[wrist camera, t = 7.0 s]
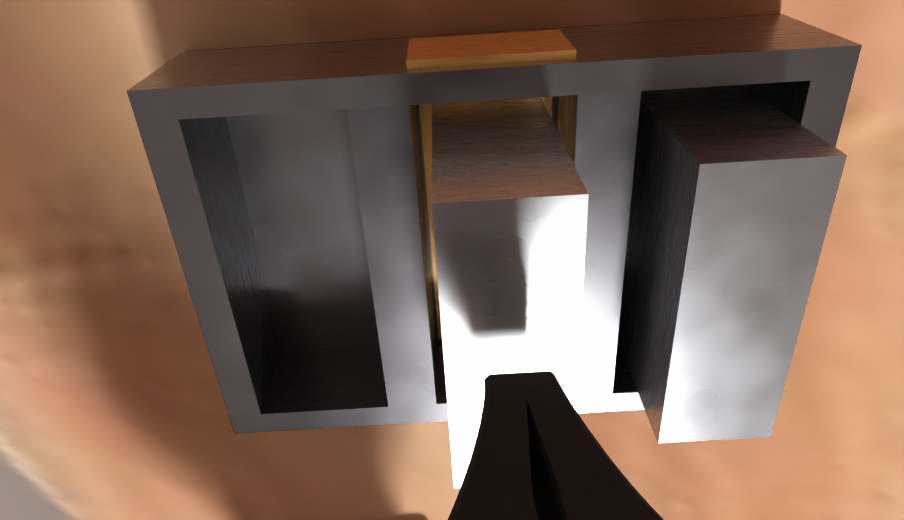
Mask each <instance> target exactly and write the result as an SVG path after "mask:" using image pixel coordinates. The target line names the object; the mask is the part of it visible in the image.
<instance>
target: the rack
mask: <svg viewBox="0 0 904 520" xmlns="http://www.w3.org/2000/svg"><path fill="white" fill-rule="evenodd" d="M861 46H862V45H860V44H858V43H855V42H852V41H850V40H847V39H845V38H842V37H840V36H837V35H834V34H832V33H829V32H827V31H824V30H821V29H819V28H816V27H814V26H811V25H808V24H806V23H803V22H801V21H798V20H796V19H793V18H790V17H788V16H785V15H783V14H773V15H757V16H741V17H725V18H709V19H693V20H677V21H661V22H645V23H629V24H613V25H597V26H581V27H565V28H549V29H533V30H517V31H501V32H485V33H469V34H453V35H437V36H421V37H405V38H389V39H373V40H357V41H342V42H326V43H310V44H294V45H278V46H262V47H246V48H230V49H214V50H198V51H184V52H183V53H181V54H180V55H178V56H177V57H175V58H174V59H172V60H171V61H170V62H168V63H167V64H165V65H164V66H162V67H161V68H159V69H158V70H156V71H155V72H154V73H152V74H151V75H149V76H148V77H146V78H145V79H143V80H142V81H140V82H139V83H137V84H136V85H135V86H133V87H132V88H130V89H129V90H127V93H128V96H129V99H130V103H131V106H132V109H133V112H134V115H135V119H136V122H137V125H138V128H139V131H140V134H141V138H142V141H143V144H144V147H145V150H146V154H147V157H148V160H149V163H150V166H151V169H152V173H153V176H154V179H155V182H156V185H157V189H158V192H159V195H160V198H161V201H162V204H163V208H164V211H165V214H166V217H167V220H168V224H169V227H170V230H171V233H172V236H173V239H174V243H175V246H176V249H177V252H178V255H179V259H180V262H181V265H182V268H183V271H184V274H185V278H186V281H187V284H188V287H189V290H190V294H191V297H192V300H193V303H194V306H195V309H196V313H197V316H198V319H199V322H200V325H201V329H202V332H203V335H204V338H205V341H206V344H207V348H208V351H209V354H210V357H211V360H212V364H213V367H214V370H215V373H216V376H217V379H218V383H219V386H220V389H221V392H222V395H223V399H224V402H225V405H226V408H227V411H228V414H229V418H230V421H231V424H232V427H233V430H234V433H251V432H268V431H285V430H302V429H320V428H337V427H354V426H371V425H388V424H406V423H423V422H440V421H449V419H448V406H447V393H446V381H445V368H444V356H443V343H442V330H441V318H440V305H439V292H438V280H437V267H436V255H435V242H434V229H433V217H432V204H431V199H432V104H438V103H454V102H470V101H487V100H503V99H519V98H535V97H541V98H542V100H543V102H544V104H545V106H546V108H547V110H548V112H549V114H550V117H551V119H552V121H553V123H554V125H555V127H556V129H557V131H558V133H559V135H560V137H561V139H562V141H563V143H564V145H565V147H566V149H567V151H568V153H569V155H570V157H571V159H572V161H573V163H574V165H575V167H576V169H577V171H578V173H579V175H580V178H581V180H582V182H583V184H584V186H585V188H586V190H587V192H588V194H589V196H588V214H587V231H586V248H585V266H584V283H583V301H582V318H581V335H580V353H579V370H578V388H577V405H576V411H577V413H595V412H612V411H630V410H645V411H646V414H647V416H648V419H649V421H650V424H651V427H652V429H653V432H654V434H655V437H656V439H657V442H658V443H672V442H690V441H707V440H724V439H742V438H759V437H770V436H771V433H772V429H773V425H774V421H775V418H776V414H777V410H778V407H779V403H780V399H781V396H782V392H783V388H784V385H785V381H786V377H787V374H788V370H789V366H790V363H791V359H792V355H793V352H794V348H795V344H796V341H797V337H798V333H799V330H800V326H801V322H802V318H803V315H804V311H805V307H806V304H807V300H808V296H809V293H810V289H811V285H812V282H813V278H814V274H815V271H816V267H817V263H818V260H819V256H820V252H821V249H822V245H823V241H824V238H825V234H826V230H827V227H828V223H829V219H830V215H831V212H832V208H833V204H834V201H835V197H836V193H837V190H838V186H839V182H840V179H841V175H842V171H843V168H844V164H845V160H846V157H847V155H846V154H844V153H843V152H841V151H840V150H838V149H837V148H835V146H836V142H837V139H838V135H839V131H840V127H841V123H842V119H843V115H844V112H845V108H846V104H847V100H848V96H849V92H850V89H851V85H852V81H853V77H854V73H855V69H856V66H857V62H858V58H859V54H860V50H861Z"/></svg>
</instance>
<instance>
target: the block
mask: <svg viewBox="0 0 904 520" xmlns="http://www.w3.org/2000/svg"><path fill="white" fill-rule="evenodd" d="M588 196H589V194H588V192H587V190H586V188H585V186H584V184H583V182H582V180H581V178H580V175H579V173H578V171H577V169H576V167H575V165H574V163H573V161H572V159H571V157H570V155H569V153H568V151H567V149H566V147H565V145H564V143H563V141H562V139H561V137H560V135H559V133H558V131H557V129H556V127H555V125H554V123H553V121H552V119H551V117H550V114H549V112H548V110H547V108H546V106H545V104H544V102H543V100H542V98H541V97H535V98H519V99H503V100H487V101H470V102H454V103H438V104H432V199H431V204H432V217H433V229H434V242H435V255H436V267H437V280H438V292H439V305H440V318H441V330H442V343H443V356H444V368H445V381H446V393H447V406H448V419H449V431H450V444H451V457H452V469H453V482H454V488H461V486H462V483H463V480H464V477H465V474H466V471H467V468H468V465H469V462H470V459H471V456H472V453H473V449H474V445H475V441H476V437H477V433H478V430H479V426H480V421H481V415H482V410H483V403H484V392H485V388H484V379H485V378H486V377H487V376H488V375H490V374H504V373H521V372H539V371H551V372H553V373H554V374H555V375H556V377H557V379H558V381H559V383H560V384H561V386H562V388H563V390H564V392H565V393H566V395H567V397H568V398H569V400H570V402H571V403H572V405H573V407H574V408H575V410H576V405H577V388H578V370H579V353H580V335H581V318H582V301H583V283H584V266H585V248H586V231H587V214H588Z"/></svg>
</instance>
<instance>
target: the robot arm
mask: <svg viewBox="0 0 904 520" xmlns="http://www.w3.org/2000/svg"><path fill="white" fill-rule="evenodd" d="M484 388H485V392H484V403H483V410H482V415H481V421H480V426H479V430H478V433H477V437H476V441H475V445H474V449H473V453H472V456H471V459H470V462H469V465H468V468H467V471H466V474H465V477H464V480H463V483H462V486H461V488H460V491H459V494H458V496H457V499H456V501H455V504H454V506H453V509H452V511H451V514H450V516H449V518H448V520H663V518H662V517H661V516H660V515H659V514H658V513H657V512H656V511H655V510H654V509H653V508H652V507H651V506H650V505H649V504H648V503H647V502H646V500H645V499H644V498H643V497H642V496H641V495H640V494H639V493H638V492H637V490H636V489H635V488H634V487H633V486H632V485H631V483H630V482H629V481H628V480H627V479H626V477H625V476H624V475H623V474H622V473H621V471H620V470H619V469H618V468H617V467H616V465H615V464H614V463H613V461H612V460H611V459H610V458H609V456H608V455H607V454H606V452H605V451H604V450H603V448H602V447H601V446H600V444H599V443H598V442H597V440H596V439H595V437H594V436H593V435H592V433H591V432H590V431H589V429H588V428H587V426H586V425H585V423H584V422H583V420H582V419H581V417H580V416H579V414H578V413H577V411H576V410H575V408H574V407H573V405H572V403H571V402H570V400H569V398H568V397H567V395H566V393H565V392H564V390H563V388H562V386H561V384H560V383H559V381H558V379H557V377H556V375H555V374H554V373H553V372H551V371H539V372H521V373H504V374H490V375H488V376H487V377H486V378H485V379H484Z"/></svg>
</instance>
